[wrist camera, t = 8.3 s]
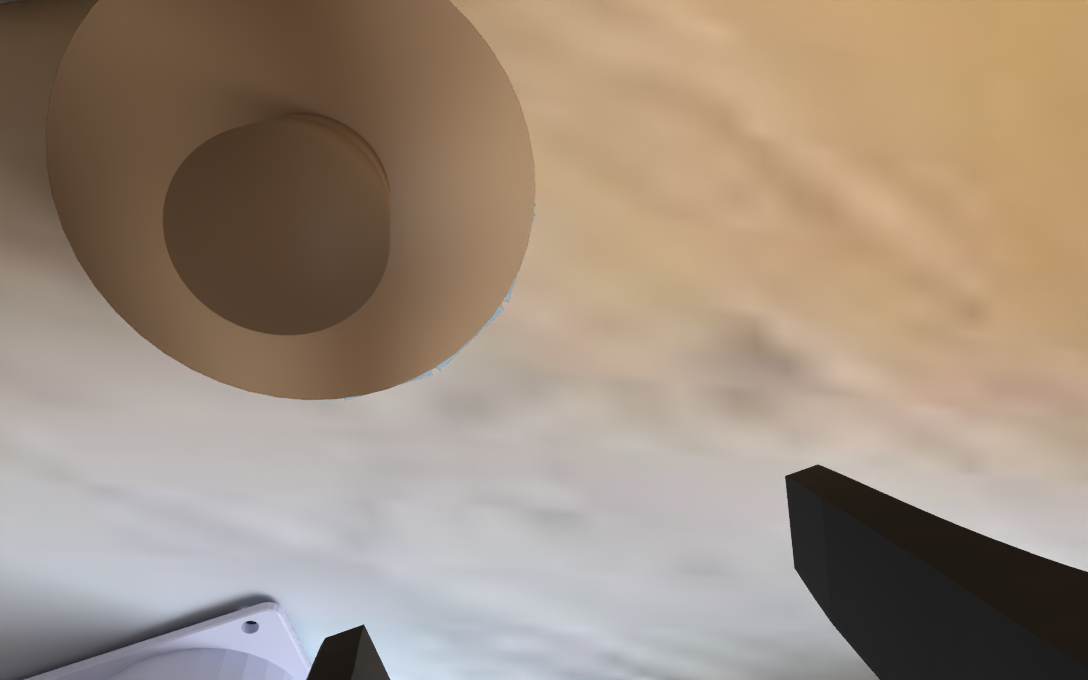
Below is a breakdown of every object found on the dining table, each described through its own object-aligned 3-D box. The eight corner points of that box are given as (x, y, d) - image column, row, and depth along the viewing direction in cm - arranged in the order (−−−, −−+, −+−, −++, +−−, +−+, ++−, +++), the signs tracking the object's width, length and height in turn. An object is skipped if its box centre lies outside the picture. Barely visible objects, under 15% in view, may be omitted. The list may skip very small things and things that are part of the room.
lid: (200, 426, 15) (115, 580, 10) (-26, 7, 12) (-310, -47, 7) (563, 312, 16) (635, 405, 11) (459, -108, 13) (501, -225, 8)
